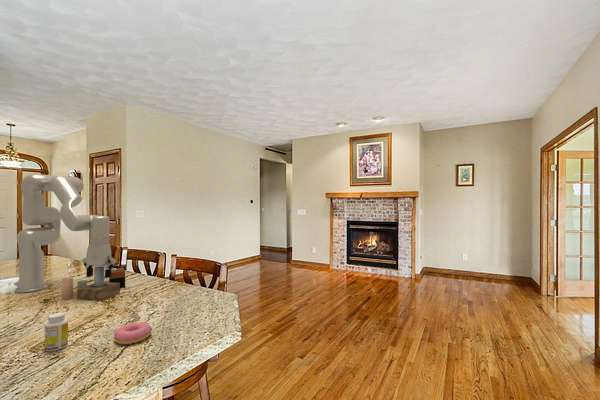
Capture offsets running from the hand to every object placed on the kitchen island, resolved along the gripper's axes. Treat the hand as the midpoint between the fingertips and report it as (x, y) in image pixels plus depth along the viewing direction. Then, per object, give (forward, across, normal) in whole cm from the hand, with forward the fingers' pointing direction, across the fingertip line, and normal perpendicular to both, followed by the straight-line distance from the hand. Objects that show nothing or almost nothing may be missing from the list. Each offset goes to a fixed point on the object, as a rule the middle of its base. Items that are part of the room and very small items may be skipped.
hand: (98, 276), depth 141 cm
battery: (+10, -2, +14) cm, 17 cm away
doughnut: (+9, +46, -38) cm, 61 cm away
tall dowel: (+9, 0, 0) cm, 9 cm away
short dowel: (+9, -12, +3) cm, 15 cm away
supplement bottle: (+9, +28, -47) cm, 55 cm away
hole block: (+9, 0, 0) cm, 9 cm away
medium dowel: (+9, -12, -5) cm, 16 cm away
